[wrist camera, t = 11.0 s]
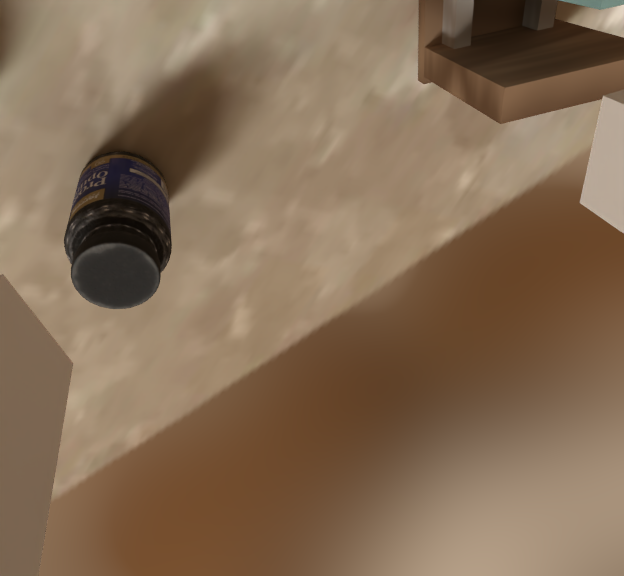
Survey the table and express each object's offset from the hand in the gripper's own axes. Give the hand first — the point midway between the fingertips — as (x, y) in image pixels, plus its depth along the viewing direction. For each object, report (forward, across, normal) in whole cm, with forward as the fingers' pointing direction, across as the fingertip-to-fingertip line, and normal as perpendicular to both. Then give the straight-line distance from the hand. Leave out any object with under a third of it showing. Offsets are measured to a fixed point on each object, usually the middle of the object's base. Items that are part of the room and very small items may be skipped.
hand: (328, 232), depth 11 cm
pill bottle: (+26, -10, -9) cm, 29 cm away
